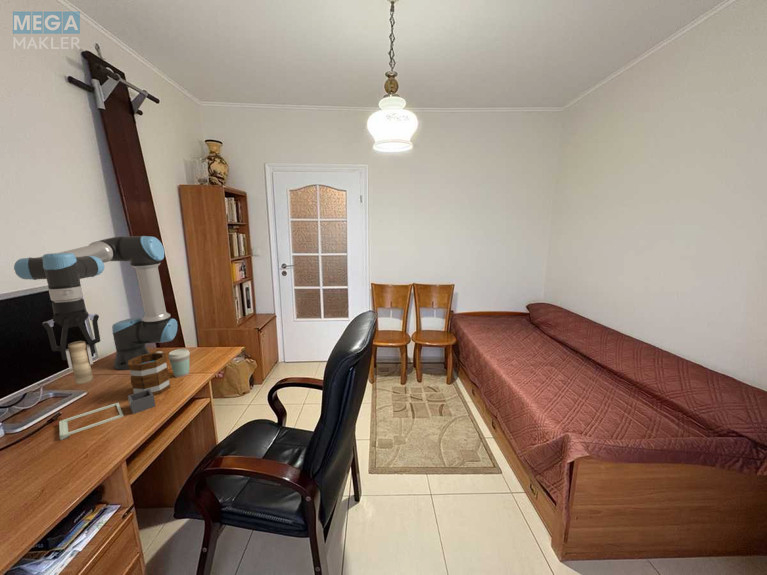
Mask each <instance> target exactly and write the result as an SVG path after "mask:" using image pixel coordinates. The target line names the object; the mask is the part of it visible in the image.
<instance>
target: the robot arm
mask: <svg viewBox="0 0 767 575" xmlns="http://www.w3.org/2000/svg"><path fill="white" fill-rule="evenodd" d="M164 258H165V249H164V246H163V244H162V242H161V240H159V239H158V238H157V237H155V236H147V235H141V236H140V235H137V236H136V235H135V236H133V235H132V236H122V235H121V236H113V237H109V238H104V239H100V240H97V241H93V242H91V243H89V244H88V245H87V246H86V245H85V246H82V247H78V248H73V249H68V250H65V251H61V252H55V253H52V252H51V253H45V254H43V255H42V256H40V257H39V256H38V257H24V258H19V259H18V260H16V261H15V263H14V265H13V270H14V273H15V274H16V276H17V277H18V278H19V279H22V280H34V281H36V280H46V282H47V287H48V293H49V298H50V301H52V302H51V306H52V312H53V317H52V319H50V320H47V321H43V322H42V326H43V328H44V329H45V331H46V332H47V335H48V340H49V344H50V348H51V351H52V352H59V353H60V354H61V359H62V360H63V361H67V364H68V367H69V370H73V367H72V362H71V358H70V353H69V349H68V348H67V340H68V332H69V329H71V328H73V327H75V328H76V327H78V328H79V329H80V331H81V333H82V335H83V337H84V339H85V340H86V343H87V344H86V346H87V351H88V356H89V361H90V365H94V361H93V355H94V354H96V347H95V344H97V343H100V342H101V335H100V330H99V329H100V328H99V323H98V321H99V314H98V313H94V314H93V313H89V312H88V311H87V309H86V305H85V299H84V298H83V297H84V294H83V288H82V285H81V281H80V280H81V279H87V278H94V277H96V276H98V275H101V274H103V272H104V270H105V263H108V262H129V263H130V267H132V268H133V269H135V272H136V276H137V282H138V286H139V287H138V288H139V292H140V295H141V296H140V297H141V301H142V305H143V310H144V316H143V318H142V317H140V316H139V317H132V318H131V317H130V318H126V319H123V320H120V321H118V322H115V323H114V324H112V329H111V330H112V331H111V332H112V335H113V343H114V347H115V352H116V353H115V356H114V357H115V358H114V361H113V367H114V369H115V370H119V371H120V370H121V371H123V370H125V371H126V370H130V369H129V367H128V361H129V360H131V359H133V358H135V357H138V356H140V355H145V354H150V351H149V349H148V347H147V346H146V344H155V343H156V344H157V343H158V344H159V343H162V344H163V343H167V342H172V341H173V340H175V337H176V335H177V332H178V321H177V320H176V319H175V318H172V317H171V313H169V312H167V309H166V304H165V299H164V298H165V297H164V294H163V289H162V282H161V277H160V272H159V266H160V265H161V263H162V262H161V261H163V260H164ZM88 318H89V320H90V321H91V324H92V330H93V336H94V339H92V337H91V335H90V334H89V331H88V329H87V327H86V326H85V324H84V323H85V322H86V321H87V319H88ZM54 323H56V324H57V325H59V327H62V328H61V337H60V346H59V345H58V344H57V342H56V337H55V334H54V330H53V329H54V328H53V327H54Z"/></svg>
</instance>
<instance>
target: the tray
mask: <svg viewBox="0 0 767 575" xmlns="http://www.w3.org/2000/svg"><path fill="white" fill-rule="evenodd" d="M112 407H116V408H117V411H118V414H117V415H115V416H113V417H110V418H109V417H108V418H106V419H104V420H100V421H98V422H97V421H96V422H95V423H91V424H89V425H86V426H84V427H80V428H77V429H74V430H71V431H69V421H72V420H75V419H78V418H81V417H84V416H88V415H91V414H94V413H97V412H101V411H103V410H106V409H109V408H112ZM122 417H124V413H123V410H122V409H121V405H120V403H119V402H115V403H113V404H109V405H105V406H103V407H99V408H96V409H93V410H90V411H87V412H84V413H81V414H77V415H74V416H71V417H68V418H64V419H62V420H58V422H59V423H58V424H59V439H60V441H63V440H65V439H68V438H70V435H73V434H76V433H78V432H81V431H86V430H88V429H91V428H93V427H96V426H99V425H103V424H105V423H108V422H111V421H114V420H117V419H120V418H122Z"/></svg>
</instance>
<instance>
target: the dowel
mask: <svg viewBox="0 0 767 575" xmlns="http://www.w3.org/2000/svg"><path fill="white" fill-rule="evenodd" d="M86 345H87V340H86V341H85V340H78V341H77V340H76V341H73V342H70V343H67V349H69V353H70V358H71V362H72V367H73V369H72V373H73V376H74V382H75V384H76V385H83V384H86V383H87V384H88V383H90V382H92V381H93V380H94V375H93V371H92V368H91V365H92V364H91V365H90V361H89V356H88V351H87V346H86Z"/></svg>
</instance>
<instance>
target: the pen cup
mask: <svg viewBox="0 0 767 575" xmlns="http://www.w3.org/2000/svg"><path fill="white" fill-rule="evenodd" d="M127 398H128V403H129V404H128V405H129V408H130V410H131V411H130V412H131V413H132V415H134V414H137V413H141V412H143V411H147V410H149V409H151V408H155V407H156V402H155V400H156V399H155V396H154V395H153V393H152V392H151V390H150V389H148V390H145V391H141V392H138V393H135V394H134V393H133V394H129V395H127Z"/></svg>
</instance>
